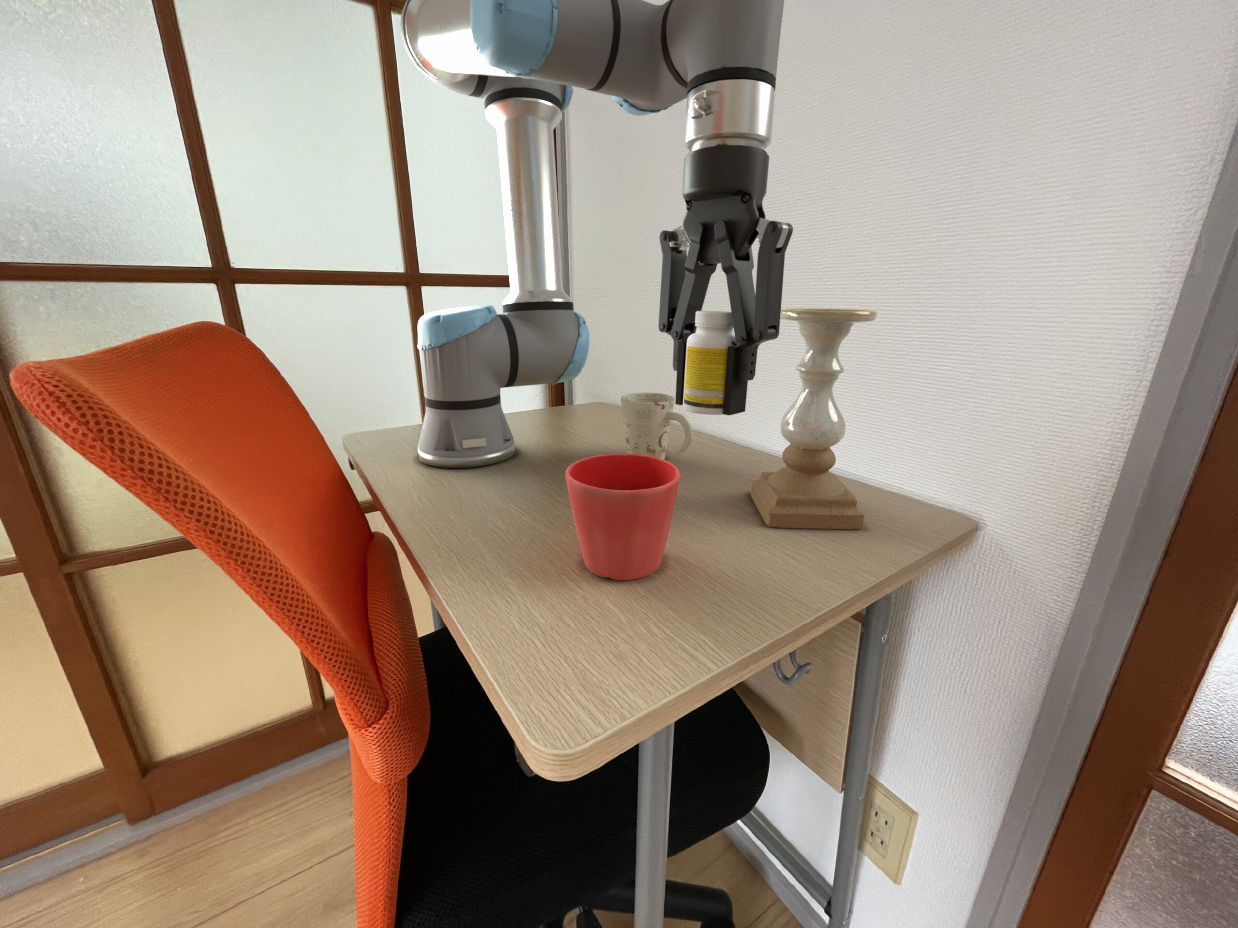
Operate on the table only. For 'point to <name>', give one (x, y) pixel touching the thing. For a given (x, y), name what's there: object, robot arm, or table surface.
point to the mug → (651, 424)
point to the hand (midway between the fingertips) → (709, 407)
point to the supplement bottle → (707, 362)
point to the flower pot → (622, 512)
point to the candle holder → (812, 433)
